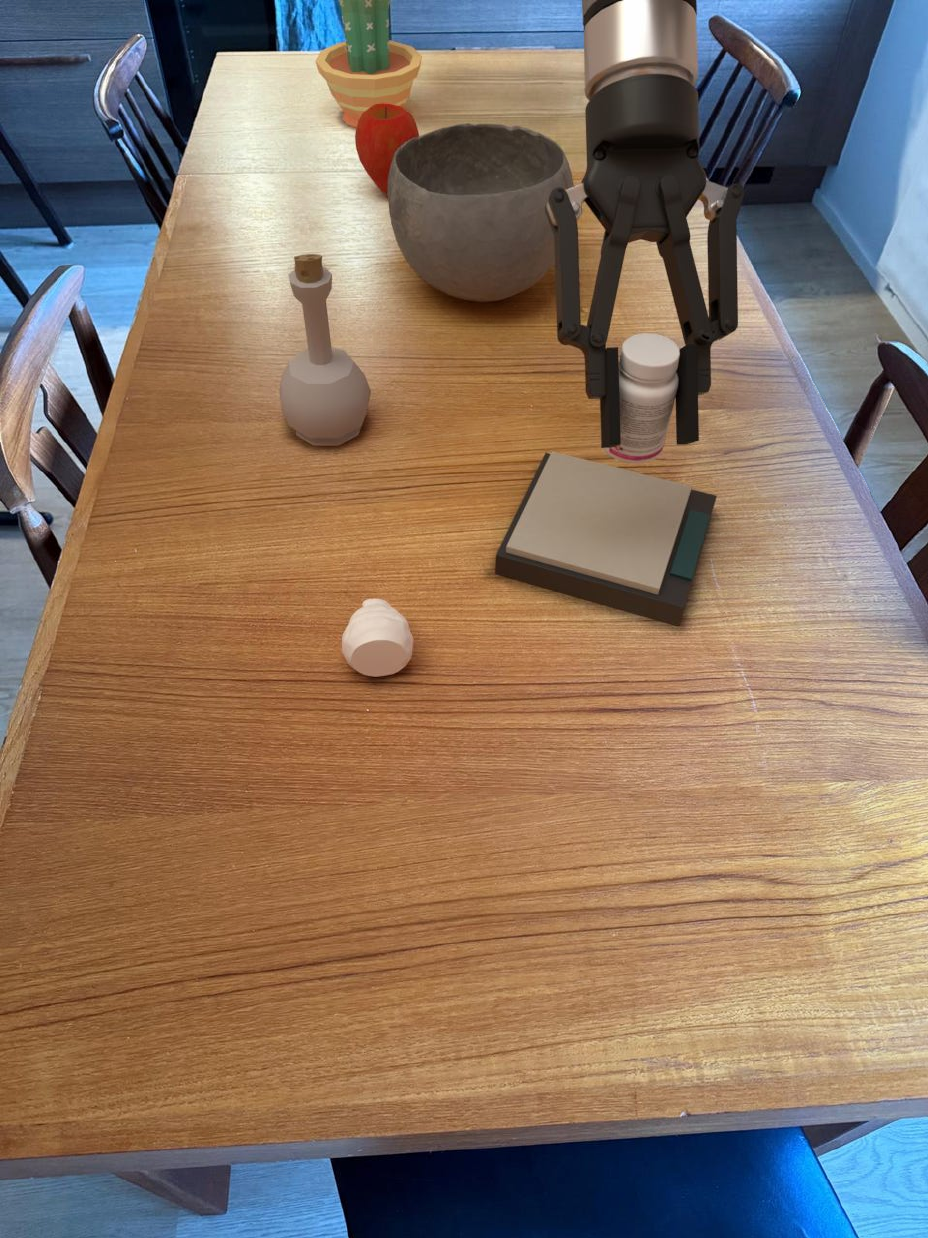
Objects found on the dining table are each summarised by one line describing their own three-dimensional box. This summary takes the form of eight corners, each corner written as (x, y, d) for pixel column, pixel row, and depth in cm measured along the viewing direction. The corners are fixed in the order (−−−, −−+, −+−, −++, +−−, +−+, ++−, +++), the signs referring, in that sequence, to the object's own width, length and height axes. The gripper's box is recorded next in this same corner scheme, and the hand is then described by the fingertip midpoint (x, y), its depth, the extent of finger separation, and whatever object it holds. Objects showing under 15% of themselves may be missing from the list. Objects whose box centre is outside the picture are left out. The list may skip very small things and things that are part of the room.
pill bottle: (676, 453, 67) (700, 357, 61) (624, 473, 66) (644, 377, 59) (637, 417, 70) (657, 322, 63) (587, 437, 68) (602, 340, 62)
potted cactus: (383, 88, 142) (373, -111, 123) (444, 120, 135) (443, -86, 115) (301, 113, 136) (276, -93, 116) (360, 148, 128) (344, -66, 109)
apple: (346, 187, 121) (338, 100, 112) (400, 172, 124) (397, 86, 116) (378, 213, 116) (372, 125, 108) (433, 196, 119) (432, 109, 111)
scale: (711, 514, 82) (719, 488, 79) (678, 626, 73) (686, 601, 71) (543, 471, 85) (546, 445, 83) (494, 573, 77) (496, 547, 74)
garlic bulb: (408, 616, 74) (405, 572, 69) (416, 675, 70) (414, 632, 66) (341, 623, 73) (335, 579, 69) (345, 683, 69) (339, 640, 65)
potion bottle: (288, 458, 86) (257, 285, 72) (282, 401, 91) (252, 230, 77) (379, 447, 87) (366, 275, 73) (367, 392, 92) (353, 222, 79)
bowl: (581, 253, 111) (596, 124, 99) (546, 346, 98) (558, 211, 86) (422, 229, 114) (419, 102, 102) (368, 316, 101) (358, 182, 90)
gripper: (748, 117, 65) (752, 444, 67) (503, 122, 64) (517, 454, 66) (792, 64, 57) (795, 433, 60) (516, 69, 56) (531, 444, 59)
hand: (649, 443), depth 63 cm, fingers closed on pill bottle, 5 cm apart
